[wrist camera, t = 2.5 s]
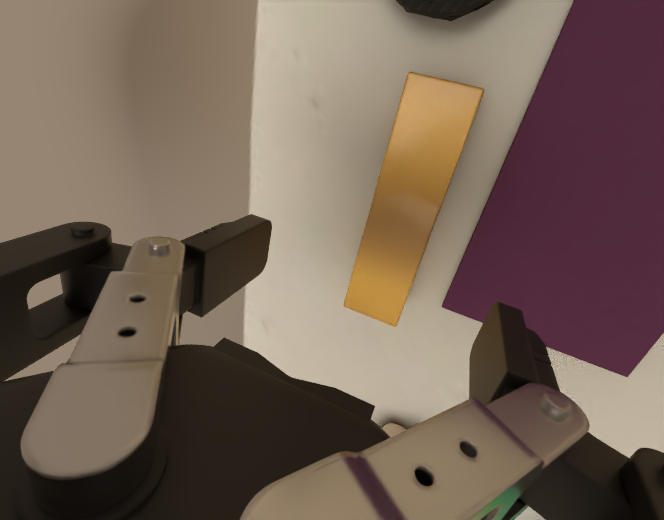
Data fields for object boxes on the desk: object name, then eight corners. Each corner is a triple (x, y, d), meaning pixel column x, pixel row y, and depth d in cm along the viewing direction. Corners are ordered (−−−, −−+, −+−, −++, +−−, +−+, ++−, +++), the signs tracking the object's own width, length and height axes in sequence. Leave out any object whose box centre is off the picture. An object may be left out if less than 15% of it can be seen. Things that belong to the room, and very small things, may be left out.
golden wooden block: (419, 78, 19) (408, 71, 16) (483, 93, 18) (485, 88, 15) (360, 280, 25) (342, 306, 22) (406, 298, 24) (395, 327, 21)
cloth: (614, -92, 14) (616, -96, 14) (971, -56, 12) (982, -60, 12) (442, 305, 23) (441, 307, 23) (625, 374, 21) (627, 377, 21)
